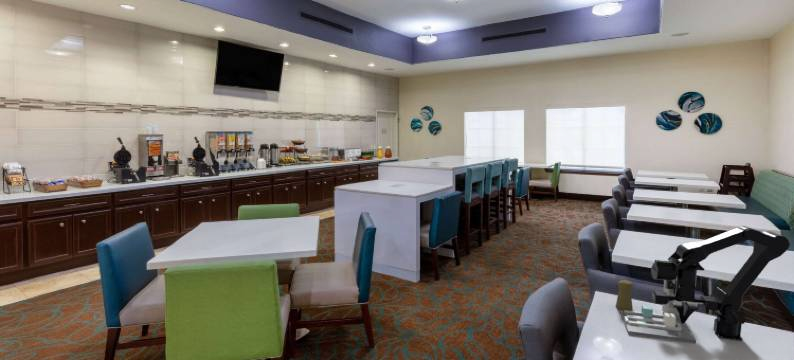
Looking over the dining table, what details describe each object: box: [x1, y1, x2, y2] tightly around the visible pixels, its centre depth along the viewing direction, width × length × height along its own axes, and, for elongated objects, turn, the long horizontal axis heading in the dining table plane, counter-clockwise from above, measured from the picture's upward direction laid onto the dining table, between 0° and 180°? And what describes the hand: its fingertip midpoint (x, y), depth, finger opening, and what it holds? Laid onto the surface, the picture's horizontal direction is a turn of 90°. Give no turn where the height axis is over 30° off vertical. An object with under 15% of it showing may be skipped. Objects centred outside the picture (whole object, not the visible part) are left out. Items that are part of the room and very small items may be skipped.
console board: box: [620, 304, 697, 344], centre depth 150 cm, size 20×16×5 cm
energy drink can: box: [661, 279, 679, 318], centre depth 159 cm, size 6×6×15 cm
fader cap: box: [663, 312, 677, 327], centre depth 148 cm, size 3×3×4 cm
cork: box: [615, 279, 634, 312], centre depth 166 cm, size 6×6×11 cm
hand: (682, 323), depth 147 cm, fingers closed
